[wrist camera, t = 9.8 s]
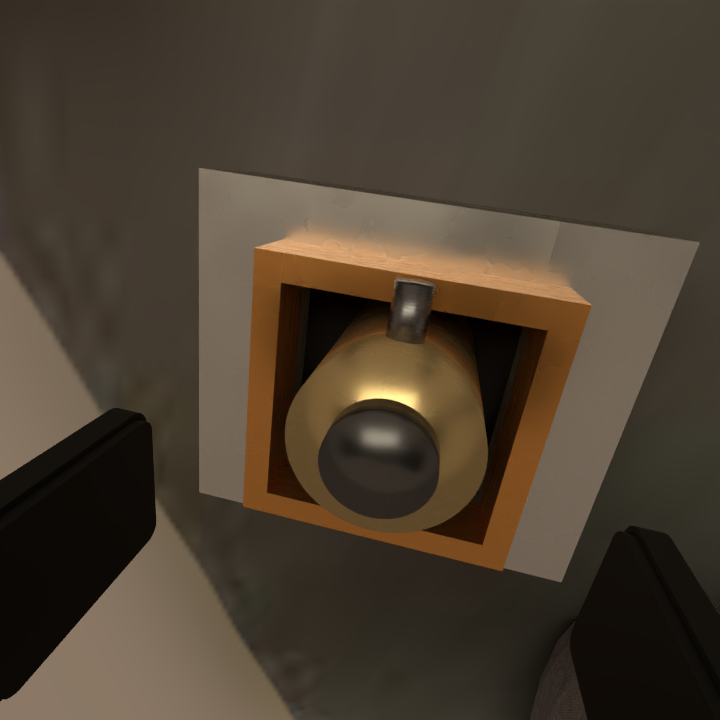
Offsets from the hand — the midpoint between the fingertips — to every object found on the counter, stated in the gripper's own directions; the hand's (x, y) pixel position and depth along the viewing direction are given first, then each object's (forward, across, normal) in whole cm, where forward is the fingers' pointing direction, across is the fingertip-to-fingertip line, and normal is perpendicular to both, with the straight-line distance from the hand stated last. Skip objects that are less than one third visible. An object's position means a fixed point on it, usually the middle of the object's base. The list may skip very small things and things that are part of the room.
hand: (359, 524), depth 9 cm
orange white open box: (+10, 0, 0) cm, 10 cm away
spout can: (+10, 0, 0) cm, 10 cm away
